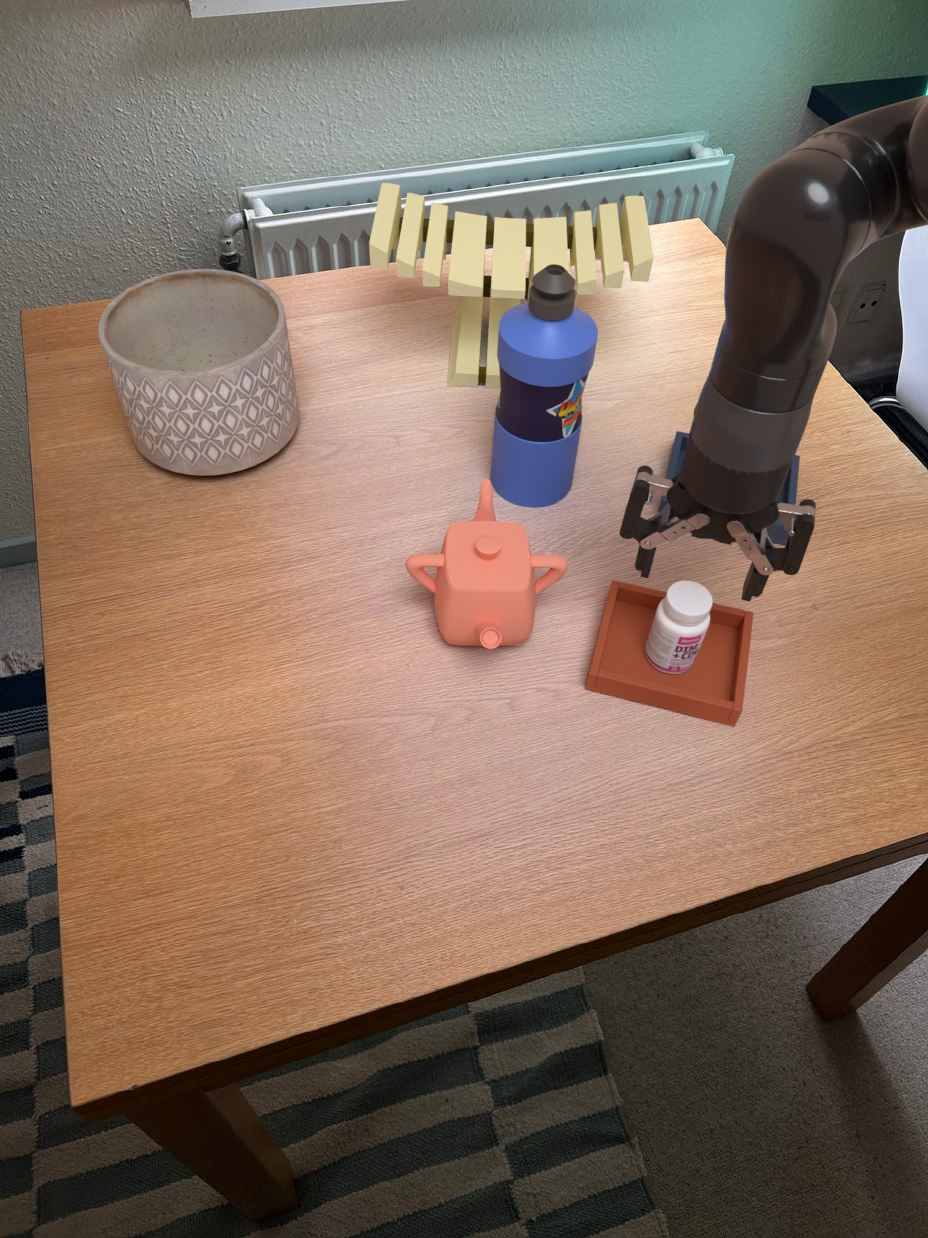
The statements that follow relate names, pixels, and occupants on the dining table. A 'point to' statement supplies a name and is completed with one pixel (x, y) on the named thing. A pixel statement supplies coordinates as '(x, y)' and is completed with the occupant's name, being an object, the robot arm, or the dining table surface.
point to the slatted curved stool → (504, 262)
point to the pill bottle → (679, 627)
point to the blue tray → (786, 495)
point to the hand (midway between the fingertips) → (695, 582)
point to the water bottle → (541, 391)
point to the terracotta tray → (695, 692)
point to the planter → (202, 370)
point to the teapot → (486, 579)
